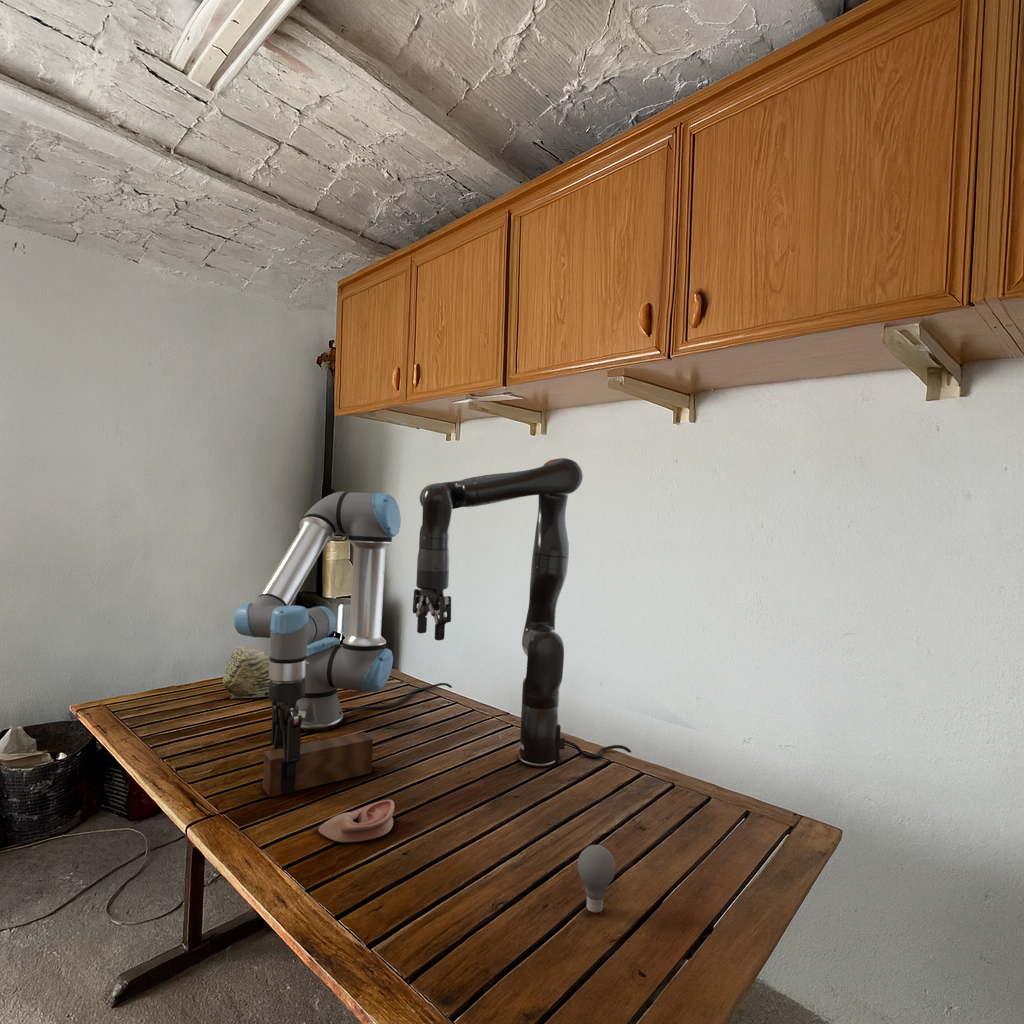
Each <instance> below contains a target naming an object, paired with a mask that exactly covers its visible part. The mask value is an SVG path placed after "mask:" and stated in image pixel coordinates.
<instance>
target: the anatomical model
mask: <svg viewBox="0 0 1024 1024" xmlns="http://www.w3.org/2000/svg"><path fill="white" fill-rule="evenodd" d="M394 812H395V801H394V800H392V799H384V800H380V801H377V802H373V803H370V804H368V805H365V806H363V807H360V808H357V809H355V810H353V811H348V812H343V813H340V814H337V815H334V816H333V817H331V818H330V819H328V820H326V821H325V822H323V823H322V824H321V825H320V826H319V827H318V829H317V830H318V832H319V834H321V835H322V836H324V837H325V838H328V839H330V840H332V841H334V842H337V843H355V842H363V841H370V840H374V839H376V838H380V837H382V836H384V835H386V834H388V833H389V832H390V831H391V830H392V828H393V826H394V818H393V815H394Z"/></svg>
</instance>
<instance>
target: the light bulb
mask: <svg viewBox="0 0 1024 1024" xmlns="http://www.w3.org/2000/svg"><path fill="white" fill-rule="evenodd" d="M616 864H617V863H616V861H615V859H614V856H613V855H612V852H611V851H610V850H608V849H607V848H606V847H604V846H603V845H601V844H591V845H588V846H587V847H585V848H584V849H583V850H582V851H581V852H580V854H579V856H578V858H577V871H578V875H579V877H580V879H581V881H582V883H583V885H584V892H585V895H586V905H585V906H586V909H587V910H588V911H589V912H592V913H600V912H602V911H603V910H604V897H605V896H606V893H607V889H608V887H609V886H610V884H611V883H612V881H613V880H614V878H615V875H616V870H617V869H616V868H617V865H616Z"/></svg>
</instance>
